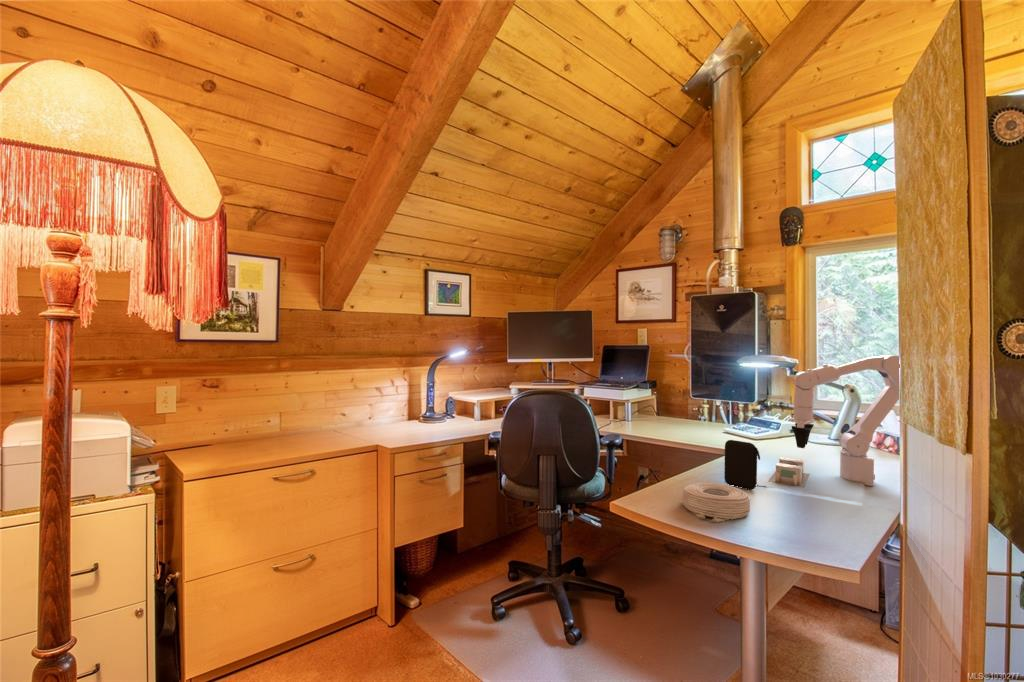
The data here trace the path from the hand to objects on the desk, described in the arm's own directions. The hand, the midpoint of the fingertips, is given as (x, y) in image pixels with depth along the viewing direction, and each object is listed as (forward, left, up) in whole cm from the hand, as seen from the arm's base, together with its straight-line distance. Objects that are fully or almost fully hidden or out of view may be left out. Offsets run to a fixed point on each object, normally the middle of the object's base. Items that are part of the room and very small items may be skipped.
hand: (802, 445), depth 167 cm
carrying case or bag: (+14, +28, -11) cm, 33 cm away
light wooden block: (+2, +14, -9) cm, 17 cm away
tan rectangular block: (+3, +4, -9) cm, 11 cm away
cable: (+15, +54, -11) cm, 57 cm away
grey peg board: (+3, +9, -10) cm, 14 cm away
